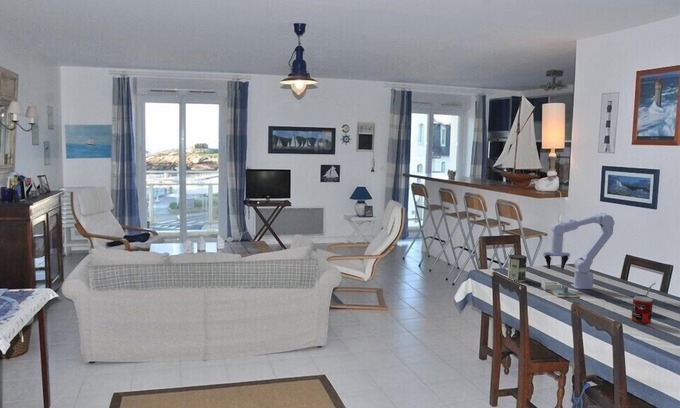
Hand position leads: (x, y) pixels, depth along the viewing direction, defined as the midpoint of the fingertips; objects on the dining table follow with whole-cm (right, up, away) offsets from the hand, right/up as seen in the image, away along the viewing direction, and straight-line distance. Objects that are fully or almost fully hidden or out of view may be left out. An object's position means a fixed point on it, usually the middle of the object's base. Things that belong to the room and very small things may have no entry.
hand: (555, 268), depth 320 cm
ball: (-6, -9, -5) cm, 12 cm away
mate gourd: (+25, -16, -45) cm, 54 cm away
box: (-4, -10, -5) cm, 12 cm away
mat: (-2, -12, -17) cm, 21 cm away
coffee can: (-18, -8, +13) cm, 24 cm away
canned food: (+17, -18, -60) cm, 64 cm away
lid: (-1, -11, -17) cm, 20 cm away
